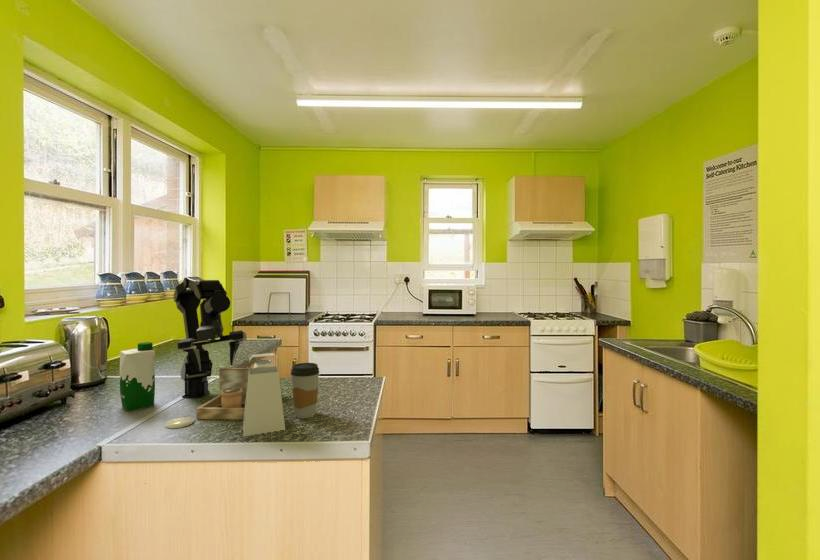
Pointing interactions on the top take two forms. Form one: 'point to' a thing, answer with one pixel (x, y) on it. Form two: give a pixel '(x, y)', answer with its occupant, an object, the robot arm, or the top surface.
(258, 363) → the can
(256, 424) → the grater
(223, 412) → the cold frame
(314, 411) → the coffee cup
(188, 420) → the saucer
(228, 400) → the pot
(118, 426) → the top surface
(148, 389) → the milk carton
